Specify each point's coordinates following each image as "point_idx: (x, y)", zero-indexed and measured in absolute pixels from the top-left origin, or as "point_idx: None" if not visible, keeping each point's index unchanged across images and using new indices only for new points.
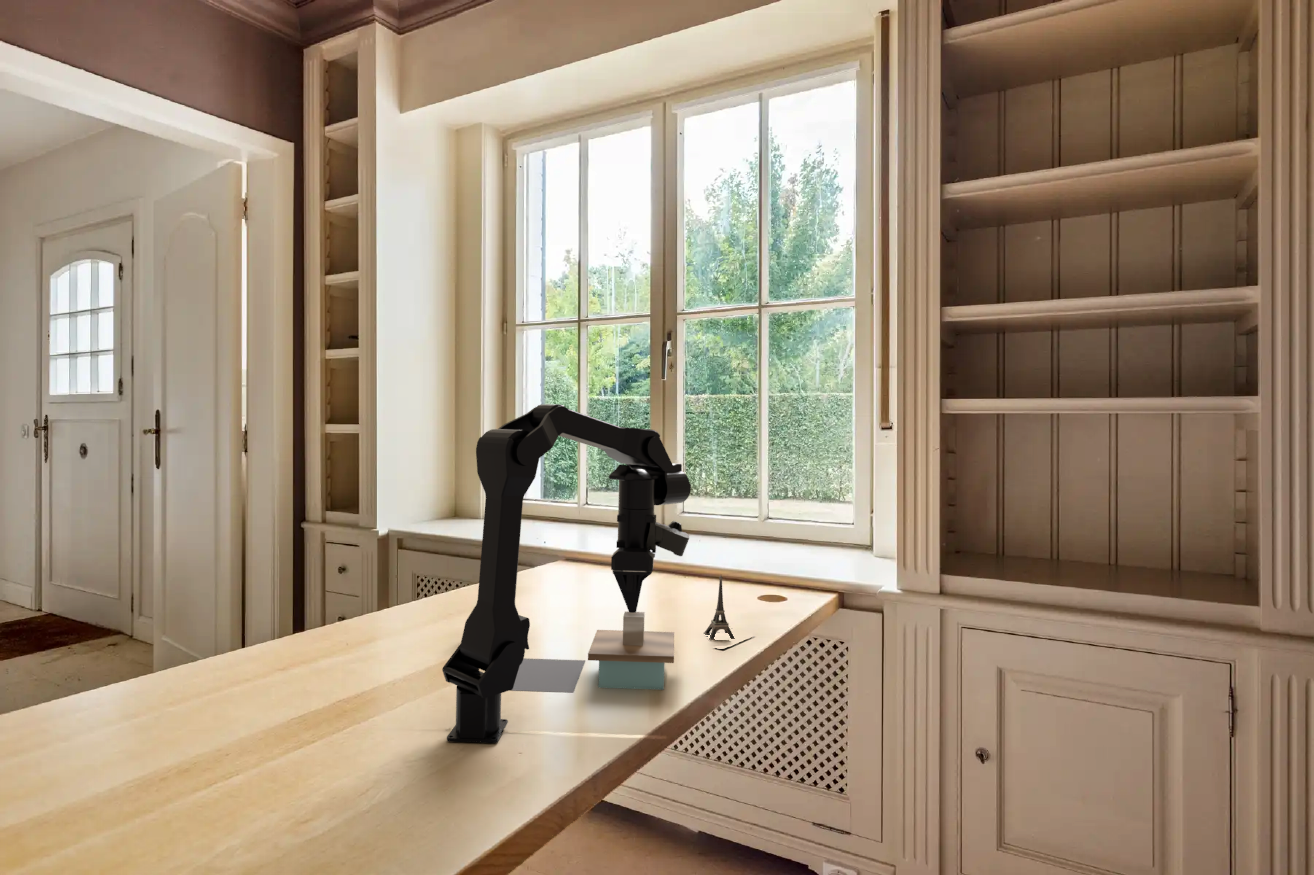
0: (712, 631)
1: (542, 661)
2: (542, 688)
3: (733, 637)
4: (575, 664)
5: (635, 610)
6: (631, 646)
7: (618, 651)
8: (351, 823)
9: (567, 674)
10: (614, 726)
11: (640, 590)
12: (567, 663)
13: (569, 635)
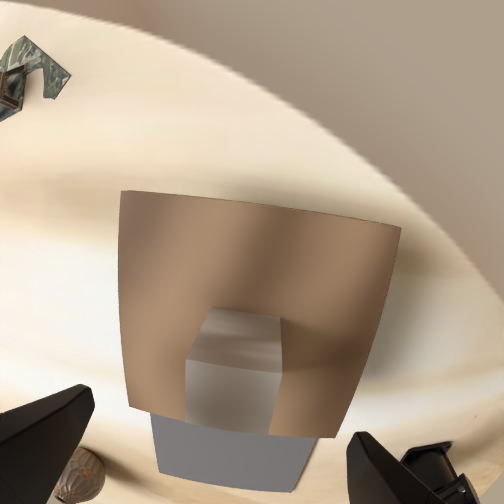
0: (5, 103)
1: (165, 435)
2: (302, 441)
3: (22, 66)
4: None
5: (371, 437)
6: (286, 351)
7: (331, 384)
8: (499, 459)
9: None
10: (462, 333)
11: (438, 497)
12: None
13: (29, 367)
